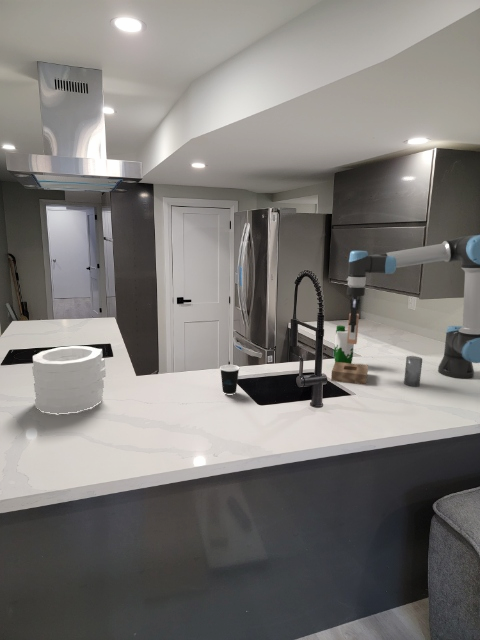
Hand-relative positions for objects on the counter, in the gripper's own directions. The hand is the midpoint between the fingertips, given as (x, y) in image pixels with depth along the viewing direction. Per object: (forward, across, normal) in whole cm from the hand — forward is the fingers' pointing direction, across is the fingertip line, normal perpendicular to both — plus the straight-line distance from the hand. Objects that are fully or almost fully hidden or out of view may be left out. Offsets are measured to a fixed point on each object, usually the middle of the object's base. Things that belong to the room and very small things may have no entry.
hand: (352, 338), depth 185 cm
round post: (+19, 0, +26) cm, 32 cm away
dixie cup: (+19, +38, -45) cm, 62 cm away
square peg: (+2, 0, 0) cm, 2 cm away
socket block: (+19, 0, 0) cm, 19 cm away
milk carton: (+19, -18, -4) cm, 26 cm away
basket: (+19, +67, -98) cm, 120 cm away
